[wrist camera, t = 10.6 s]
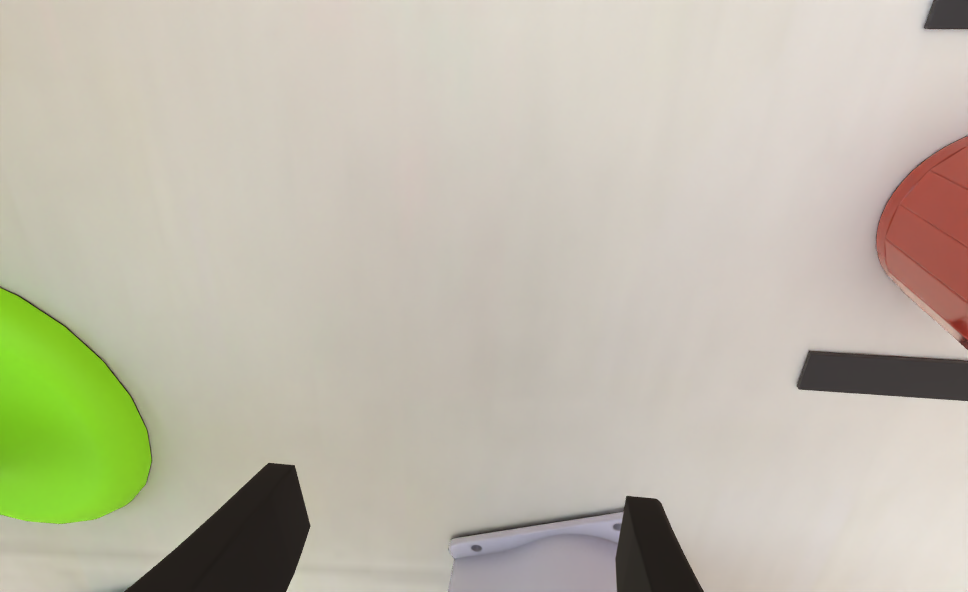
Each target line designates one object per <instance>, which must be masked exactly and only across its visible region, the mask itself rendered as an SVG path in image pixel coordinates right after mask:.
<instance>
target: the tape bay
mask: <svg viewBox="0 0 968 592" xmlns="http://www.w3.org/2000/svg"><path fill="white" fill-rule="evenodd" d="M924 28H925V29H968V0H934V2H933V5H932V7H931V10H930V13H929V16H928V19H927V21H926V24H925V27H924ZM797 387H798V389H800V390H815V391H829V392H844V393H859V394H873V395H888V396H902V397H917V398H932V399H946V400H961V401H968V361H956V360H940V359H923V358H907V357H890V356H874V355H858V354H841V353H825V352H809V354H808V356H807V359H806V362H805V365H804V368H803V370H802V373H801V376H800V379H799V382H798V384H797Z"/></svg>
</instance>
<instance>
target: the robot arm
mask: <svg viewBox="0 0 968 592" xmlns="http://www.w3.org/2000/svg"><path fill="white" fill-rule="evenodd" d="M309 529H310V523H309V519H308V515H307V511H306V507H305V504H304V500H303V496H302V492H301V488H300V484H299V480H298V476H297V472H296V469H295V465H285V464H274V463H268V464H267V465H266V466H265V467H264V468H263V469H261V470H260V471H259V472H258V473H257V474H256V475H255V476H254V477H253V478H252V479H251V480H250V481H249V482H247V483H246V484H245V485H244V486H243V487H242V488H241V489H240V490H239V491H238V492H237V493H236V494H235V495H234V496H233V497H232V498H230V499H229V500H228V501H227V502H226V503H225V504H224V505H223V506H222V507H221V508H220V509H219V510H218V511H217V512H215V513H214V514H213V515H212V516H211V517H210V518H209V519H208V520H207V521H206V522H205V523H203V524H202V525H201V526H200V527H199V528H198V529H197V530H196V531H195V532H194V533H192V534H191V535H190V536H189V537H188V538H187V539H186V540H185V541H184V542H182V543H181V544H180V545H179V546H178V547H177V548H176V549H175V550H173V551H172V552H171V553H170V554H169V555H168V556H166V557H165V558H164V559H163V560H162V561H160V562H159V563H158V564H157V565H156V566H155V567H153V568H152V569H151V570H150V571H149V572H147V573H146V574H145V575H144V576H143V577H141V578H140V579H139V580H138V581H137V582H136V583H134V584H133V585H132V586H131V587H129V588H128V589H127V590H126V591H124V592H286V590H287V588H288V586H289V584H290V582H291V579H292V577H293V575H294V573H295V570H296V567H297V564H298V562H299V559H300V556H301V553H302V550H303V547H304V544H305V541H306V538H307V535H308V532H309ZM448 550H449V552H450V554H451V555H452V557H453V558H454V563H453V568H452V573H451V579H450V584H449V589H448V592H704V591H703V589H702V587H701V586H700V584H699V582H698V580H697V578H696V576H695V574H694V573H693V571H692V569H691V567H690V565H689V563H688V561H687V559H686V557H685V555H684V553H683V551H682V549H681V547H680V545H679V542H678V540H677V538H676V536H675V534H674V532H673V530H672V527H671V525H670V523H669V521H668V518H667V516H666V514H665V511H664V509H663V506H662V504H661V503H660V502H659V501H658V500H657V499H653V498H642V497H632V496H626V501H625V507H624V512H619V513H613V514H606V515H600V516H594V517H587V518H581V519H574V520H568V521H562V522H555V523H549V524H542V525H536V526H530V527H523V528H517V529H510V530H504V531H498V532H491V533H485V534H479V535H472V536H466V537H459V538H454V539H452V540H451V541H450V543H449V548H448Z"/></svg>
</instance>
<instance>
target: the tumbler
mask: <svg viewBox="0 0 968 592" xmlns="http://www.w3.org/2000/svg"><path fill="white" fill-rule="evenodd" d="M876 247H877V253H878V258H879V260H880V263H881V266H882V267H883V269H884V271H885V272H886V274H887V275H888V276H889V277H890V278H891V280H892V281H893V282H895V283H896V284H897V285H898V286H899V287H900V289H901V290H902V291H903V293H905V294H906V295H907V296H908V297H909V298H910V299H911V300H912V301H914V302H915V303H916V304H917V305H918V306H919V307H920V308H921V309H922V310H924V311H925V312H926V313H927V314H928V315H929V316H930V317H931V318H933V319H934V320H935V321H936V322H937V323H938V324H939V325H940V326H942V327H943V328H944V329H945V330H946V331H947V332H948V333H949V334H951V335H952V336H953V337H954V338H955V339H956V340H957V341H958V342H959V343H961V344H962V345H963V346H964V347H965V348H966V349H967V350H968V136H967V137H964V138H962V139H960V140H958V141H956V142H954V143H951V144H950V145H948V146H946V147H944V148H943V149H941V150H939V151H937V152H936V153H935V154H933V155H932V156H930V157H929V158H927V159H926V160H925V161H923V162H922V163H921V164H920V165H919V166H918V167H916V168H915V169H914V170H913V171H912V172H911V173H910V174H909V175H908V176H907V177H906V178H905V179H904V180H903V181H902V183H901V184H900V185H899V186H898V188H897V189H896V190H895V191H894V193H893V194H892V196H891V198H890V199H889V201H888V202H887V204H886V206H885V209H884V211H883V213H882V215H881V218H880V221H879V225H878V230H877V236H876Z"/></svg>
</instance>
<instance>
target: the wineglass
mask: <svg viewBox="0 0 968 592" xmlns="http://www.w3.org/2000/svg"><path fill="white" fill-rule="evenodd" d="M151 462H152V459H151V452H150V446H149V439H148V433H147V429H146V427H145V425H144V423H143V421H142V419H141V417H140V415H139V413H138V411H137V409H136V407H135V404H134V402H133V400H132V398H131V397H130V395H129V394H128V393H127V391H126V390H125V389H124V388H123V386H122V385H121V384H120V382H119V381H118V380H117V379H116V377H115V376H114V375H113V373H112V372H111V371H110V370H109V368H108V367H107V366H106V364H105V363H104V362H103V361H102V360H101V359H100V358H99V357H98V356H97V355H95V354H94V353H93V352H92V351H91V350H90V349H89V348H88V347H87V346H85V345H84V344H83V343H82V342H81V341H80V340H79V339H78V338H77V337H76V336H74V335H73V334H72V333H71V332H70V331H69V330H68V329H67V328H66V327H64V326H63V325H61V324H60V323H58V322H57V321H55V320H54V319H52V318H51V317H49V316H48V315H46V314H45V313H43V312H41V311H40V310H38V309H37V308H35V307H34V306H32V305H31V304H29V303H28V302H26V301H25V300H23V299H22V298H20V297H19V296H17V295H14V294H12V293H10V292H8V291H5V290H3V289H1V288H0V515H4V516H8V517H12V518H16V519H20V520H24V521H31V522H43V523H55V524H65V523H72V522H80V521H87V520H94V519H97V518H100V517H102V516H104V515H106V514H109V513H111V512H113V511H115V510H117V509H119V508H121V507H123V506H125V505H127V504H128V503H130V502H131V501H132V500H133V499H134V497H135V496H136V495H137V494H138V493H139V492H140V490H141V489H142V488H143V487H144V486H145V485H146V482H147V478H148V474H149V470H150V466H151Z"/></svg>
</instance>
